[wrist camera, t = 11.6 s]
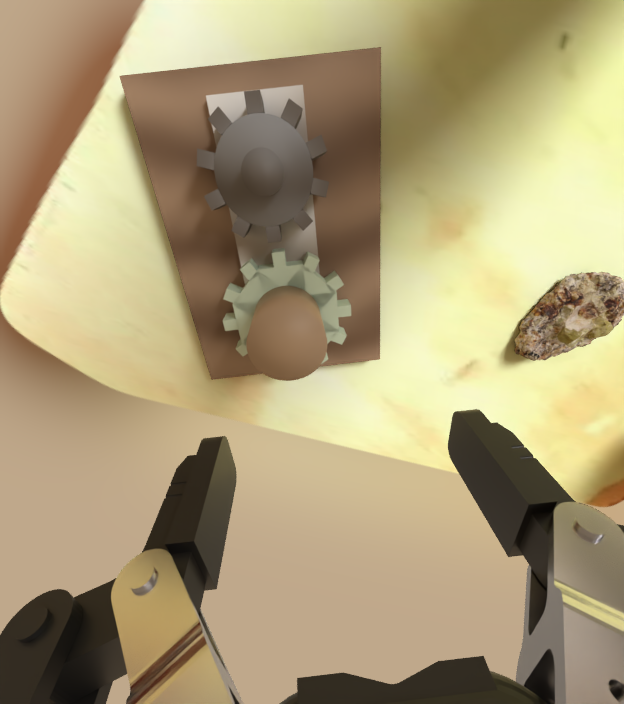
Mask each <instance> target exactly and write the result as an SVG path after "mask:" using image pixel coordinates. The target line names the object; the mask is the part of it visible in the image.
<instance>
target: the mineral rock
mask: <svg viewBox="0 0 624 704" xmlns="http://www.w3.org/2000/svg"><path fill="white" fill-rule="evenodd" d="M623 315H624V281H622V279H621V278H620V277H617V276H612V275H610V274H609V273H605V272H600V273H596V272H591V273H580V274H577V275H576V274H571V275H570V276H566V277H565V278H564V279H563V280H561V282H560V283H559V284H558V285H557V286H556V287H555V288H554V289H553V290H552V291H551V292H549V293H547V294H546V295H545V296H544V297H543V298H542V299H541V300H540V302H539V303H538V304H537V305H535V308H534V309H533V310H532V311H531V312H530V313H529V314H528V316H527V317H526V318H525V319H524V320H522V322H521V325H520V326H519V328H520V330H521V331H520V333H519V335H518V336H517V337H516V338H515V340H514V341H515V343H516V345H517V346H516V347H515V353H516V354H520V355H522V356H524V357H526V358H529V359H531V360H534V361H535V360H541V359H542V360H546V359H548V358H549V357H551V356H556V355H559V354H561V353H566V352H568V351H571V350H572V349H574V348H576V346H580V347H583V346H586V345H587V344H590V343H591V341H592V340H593V339H596V338H597V337H601V336H605V335H607V334H609V333H610V332H611V331H612V330H613V328H614V327H615V326H616V325H618V324H619V322H620V321H621V320H622V319H621V318H622V316H623Z"/></svg>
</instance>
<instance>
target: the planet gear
mask: <svg viewBox="0 0 624 704" xmlns="http://www.w3.org/2000/svg"><path fill="white" fill-rule="evenodd" d="M272 259H273V264H265V265H259V266H258V265H257V264H256V263H255V261H254V260H253V259H252V258H251V259H250V260H248V261H247V262H246V263H245V264H243V265H242V267H241V269H240V271H241V272H242V273H243V274H244V275H245V277H246V278H247V279H248V282H247V283H246V284H245V286H244V287H243V288H242V287H240V286H237V285H235V284H232V283H230V284H229V286H228V287H227V289H226V292H225V295H224V298H223V299H224V300H227V301H229V302H232V303H233V308H234V313H226V315H225V317H224V319H223V324H224V328H225V331H230V330H239V334H240V338H241V339H240V340H239V341H238V343H237V346H236V350H237V351H238V352H239V353H240V354H241V355H242V356H245V355H246V354H248V356H249V358H250V360H251V362H252V363H253V365H254V366H255V367H256V368H257V369H258V370H259V371H260V372H262V373H263V374H265V375H267V376H269V377H271V378H274V379H278V380H287V381H288V380H296V379H300V378H303V377H306V376H308V375H309V374H311V373H312V372H314V371H315V370H316V369H317V368H318V367H319V366H320V365H321V364H322V363H324V362H325V361H327V360H328V356H327V344H328V343H329V342H330V341H333V342H336V343H339V344H341V345H342V344H343V342H344V340H345V338H346V336H347V335H346V332H345V330H344V328H342V327H340V326H339V320H338V317H346V316H351V304H350V303H349V301H348V299H342V300H337V292H336V290H337V289H339V288H340V287H342V286H343V285H344V284H343V282H342V280H341V279H340V277H339V276H338V274H337V273H336V272H335V271H333V272H332V273H330V274H329V275H328V276H326V277H325V278H323V277H322V276H321V275H320V274H318V273H317V272H316V271H315V270H316V267H317V265H318V263H319V261H320V260H319V258H318V256H316V255H314V254H312V253H310V252H307V253H306V255H305V258H304V260H303V261H302V260H299V261H290V262H286V256H285V248H279V249H273V250H272Z"/></svg>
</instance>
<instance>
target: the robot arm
mask: <svg viewBox="0 0 624 704" xmlns="http://www.w3.org/2000/svg"><path fill="white" fill-rule="evenodd" d="M448 450H449V455H450V458H451V460H452V462H453V464H454V465H455V467H456V469H457V471H458V472H459V474H460V476H461V477H462V479H463V481H464V482H465V484H466V486H467V487H468V489H469V491H470V492H471V494H472V496H473V498H474V499H475V501H476V503H477V504H478V506H479V508H480V510H481V511H482V513H483V514H484V516H485V518H486V520H487V521H488V523H489V525H490V527H491V528H492V530H493V532H494V533H495V535H496V537H497V538H498V540H499V542H500V543H501V545H502V547H503V548H504V550H505V552H506V554H507V555H508V557H512V556H520V555H524V557H525V559H526V560H527V562H528V563H529V566H528V569H527V582H526V599H525V616H524V634H523V643H522V648H521V652H520V656H519V661H518V666H517V673H516V682H515V681H513V680H511V679H509V678H507V677H505V676H502V675H500V674H497V673H495V672H491V671H489V668H488V666H487V664H486V661H485V659H484V656H479V657H471V658H463V659H454V660H445V661H438V662H436V663H434V664H432V665H430V666H429V667H427V668H425V669H423V670H421V671H420V672H418V673H416V674H414V675H412V676H411V677H409V678H407V679H405V680H403V681H402V682H400V683H397V684H387V683H383V682H379V681H375V680H371V679H367V678H363V677H359V676H354V675H351V674H347V673H336V674H328V675H320V676H311V677H303V678H297V685H298V686H297V689H298V692H297V693H295V694H293V695H291V696H289V697H288V698H287V699H286V700H284V701H283V702H281V703H280V704H624V526H623V525H618V524H616V523H615V522H614V521H613V520H611V519H610V518H609V517H607V516H606V515H605V514H603V513H602V512H600V511H599V510H597V509H594V508H593V507H590V506H588V505H585V504H582V503H577V502H575V501H574V500H573V499H572V498H571V497H570V496H569V495H568V493H567V492H566V491H565V490H564V489H563V488H562V487H561V486H560V485H559V484H558V482H557V481H556V480H555V479H554V478H553V477H552V476H551V475H550V474H549V472H548V471H547V470H546V469H545V468H544V467H543V466H542V465H541V464H540V463H539V461H538V460H537V459H536V458H533V455H532V454H531V453H530V451H529V450H528V449H527V448H524V445H523V444H522V443H521V442H520V440H519V439H518V438H517V437H516V436H515V435H514V434H513V433H512V432H511V431H509V430H508V429H506V428H504V427H503V426H501V425H500V424H498V423H490V421H489V420H488V419H487V418H486V417H485V415H484V414H483V413H482V412H481V411H480V410H477V409H475V410H466V411H457V412H454V414H453V417H452V423H451V429H450V435H449V441H448ZM235 487H236V468H235V464H234V461H233V457H232V453H231V450H230V447H229V443H228V440H227V438H226V437H225V436H222V437H214V438H205V439H203V440H202V441H201V443H200V446H199V449H198V452H197V455H192V456H187V458H185V460H184V461H183V462H182V463H181V464H180V466H179V467H178V468H177V469H176V472H175V474H174V477H173V479H172V482H171V486H169V489H168V492H167V494H166V499H164V501H163V504H162V506H161V508H160V511H159V513H158V516H157V518H156V521H155V523H154V526H153V528H152V531H151V533H150V536H149V538H148V541H147V543H146V545H145V548H144V550H143V551H142V553H141V554H139V555H137V556H136V557H135V558H133V559H132V560H131V561H130V562H129V563H128V564H127V565H126V566H125V567H124V568H123V569H122V570H121V572H120V573H119V575H118V577H117V578H115V579H114V580H112V581H110V582H108V583H106V584H103V585H101V586H99V587H97V588H94V589H92V590H90V591H88V592H85V593H83V594H81V595H78V596H76V597H74V598H73V596H72V595H70V593H69V592H68V591H66V590H61V589H57V590H52V591H48V592H46V593H43V594H42V595H40V596H38V597H36V598H35V599H34V600H32V601H30V602H29V603H28V604H26V605H25V606H24V607H23V608H22V609H21V610H20V611H19V612H18V613H17V614H16V615H15V616H14V617H13V618H12V619H11V620H10V622H9V623H8V624H7V626H6V627H5V629H4V630H3V631H2V633H1V635H0V704H106V701H107V698H108V695H109V692H110V688H111V686H112V682H113V681H114V680H116V679H118V678H120V677H122V676H123V675H125V674H128V678H129V683H130V690H131V691H130V696H129V697H128V698H127V702H126V704H244V703H243V701H242V700H241V697H240V695H239V693H238V691H237V689H236V687H235V685H234V682H233V680H232V678H231V676H230V674H229V672H228V670H227V667H226V665H225V663H224V661H223V658H222V656H221V654H220V652H219V649H218V647H217V645H216V643H215V641H214V638H213V636H212V634H211V631H210V629H209V627H208V625H207V622H206V620H205V618H204V616H203V613H202V611H201V609H200V607H201V602H202V598H203V593H204V590H212V589H217V584H218V578H219V573H220V567H221V562H222V557H223V551H224V546H225V540H226V534H227V529H228V524H229V518H230V513H231V508H232V503H233V497H234V492H235Z"/></svg>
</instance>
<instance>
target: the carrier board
mask: <svg viewBox="0 0 624 704" xmlns="http://www.w3.org/2000/svg"><path fill="white" fill-rule="evenodd" d="M120 79H121V83H122V86H123V89H124V93H125V96H126V99H127V103H128V106H129V109H130V112H131V116H132V119H133V122H134V126H135V129H136V132H137V135H138V139H139V142H140V145H141V149H142V152H143V155H144V159H145V162H146V165H147V168H148V172H149V175H150V178H151V182H152V185H153V188H154V191H155V195H156V198H157V201H158V205H159V208H160V211H161V215H162V218H163V221H164V224H165V228H166V231H167V234H168V238H169V241H170V244H171V248H172V251H173V254H174V257H175V261H176V264H177V267H178V271H179V274H180V277H181V280H182V284H183V287H184V290H185V294H186V297H187V300H188V304H189V307H190V310H191V313H192V317H193V320H194V323H195V327H196V330H197V333H198V336H199V340H200V343H201V346H202V350H203V353H204V356H205V360H206V363H207V366H208V369H209V373H210V376H211V379H221V378H229V377H237V376H245V375H254V374H262V372H260V371H259V370H258V369H257V368H256V367H255V366H254V365H253V363H252V362H251V360H250V358H249V356H248V354H246V355H245V356H242V355H241V354H240V353H239V352H238V351H237V350H236V346H237V343H238V341H239V340H240V339H241V338H240V334H239V330H230V331H225V328H224V324H223V319H224V317H225V315H226V313H234V308H233V303H232V302H229V301H227V300H224V299H223V298H224V295H225V292H226V289H227V287H228V286H229V284H230V283H232V284H235V285H237V286H240V287H242V288H243V287H244V286H245V284H246V283H247V282H248V279H247V278H246V277H245V275H244V274H243V273H242V272H241V271H240V269H241V267H242V265H243V264H245V263H246V262H247V261H248V260H250V259H251V258H252V259H253V260H254V261H255V263H256V264H257V265H258V266H259V265H265V264H273V259H272V250H273V249H279V248H285V256H286V262H290V261H299V260H302V261H303V260H304V258H305V255H306V253H307V252H310V253H312V254H314V255H316V256H318V258H319V260H320V261H319V263H318V265H317V267H316V270H315V271H316V272H317V273H318V274H320V275H321V276H322V277H323V278H325V277H326V276H328V275H329V274H330V273H332V272H333V271H335V272H336V273H337V274H338V276H339V277H340V279H341V280H342V282H343V284H344V285H343V286H342V287H340V288H339V289H337V290H336V292H337V300H342V299H348V301H349V303H350V304H351V316H346V317H338V320H339V326H340V327H342V328H344V330H345V332H346V335H347V336H346V338H345V340H344V342H343V344H342V345H341V344H339V343H336V342H333V341H330V342H329V343H328V344H327V356H328V360H327V361H325V362H324V363H322V364H321V365H320V366H328V365H336V364H344V363H353V362H361V361H369V360H377V359H380V128H381V47H378V48H369V49H360V50H351V51H342V52H333V53H324V54H315V55H306V56H297V57H288V58H278V59H269V60H260V61H251V62H242V63H233V64H224V65H215V66H206V67H197V68H188V69H178V70H169V71H160V72H151V73H142V74H133V75H124V76H120ZM320 366H319V367H320Z"/></svg>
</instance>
